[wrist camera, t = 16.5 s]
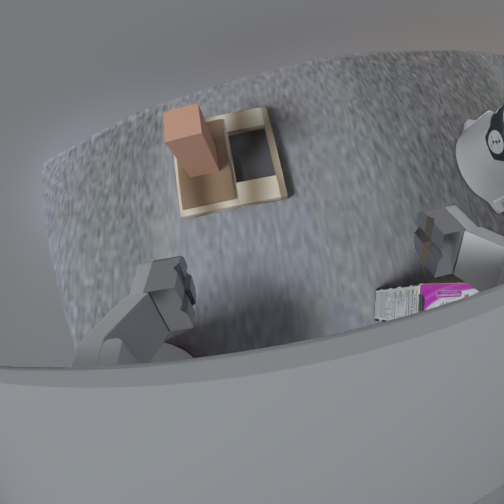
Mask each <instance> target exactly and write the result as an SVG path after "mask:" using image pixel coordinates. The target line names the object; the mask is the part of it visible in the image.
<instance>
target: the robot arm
mask: <svg viewBox="0 0 504 504" xmlns="http://www.w3.org/2000/svg"><path fill="white" fill-rule="evenodd" d="M456 159H457V163H458V166H459V169H460V172H461V174H462V176H463V178H464V179H465V181H466V183H467V184H468V185H469V187H470V188H471V189H472V190H473V191H474V192H475V193H476V194H477V195H478V196H480V197H481V198H483V199H484V200H486V201H487V202H488V203H489V204H490V205H491V207H492V208H493V209H494V210H495V211H496V212H497V213H499V214H500V213H502V212H504V105H502V106H500V107H499V108H498V109H497V110H496V112H493V111H490V110H489V111H487V112H486V113H484V114H483V115H482V116H481V117H479V118H478V119H477V120H470V119H468V120H467V121H465V123H464V129H463V133H462V134H461V136H460V137H459V139H458V141H457V144H456ZM502 204H503V205H502ZM416 223H417V224H418V226H419V227H418V229H417V230H416V232H415V235H414V244H415V249H416V251H417V254H418V255H419V256H420V258H422V259H424V260H426V261H427V263H426V266H427V268H428V269H429V271H430V272H431V273H432V275H433V276H434V278H436V277H440V276H444V275H448V274H452V273H454V275H455V276H457V277H458V278H460V279H461V280H463V281H464V282H466V283H467V284H469V285H470V286H472V287H473V288H475V289H476V290H478V291H479V292H480V293H477V294H474V295H471V296H468V297H465V298H462V299H459V300H456V301H453V302H450V303H447V304H444V305H441V306H437V307H434V308H431V309H428V310H424V311H421V312H417V313H414V314H411V315H407V316H403V317H400V318H396V319H392V320H389V321H385V322H381V323H377V324H373V325H370V326H366V327H361V328H357V329H353V330H349V331H345V332H340V333H336V334H332V335H327V336H322V337H318V338H313V339H308V340H303V341H298V342H293V343H288V344H283V345H277V346H272V347H266V348H260V349H254V350H248V351H241V352H235V353H228V354H221V355H214V356H206V357H198V358H190V359H181V360H172V361H162V362H151V360H152V359H153V357H154V356H155V354H156V353H157V351H158V350H159V348H160V347H161V345H162V344H163V342H164V341H165V340H166V338H167V337H168V335H169V334H170V331H176V330H183V329H188V328H194V318H195V312H194V309H193V307H192V306H193V305H194V304H195V303H196V292H195V286H194V282H193V279H192V276H191V275H189V274H188V273H186V271H187V264H186V262H185V259H184V257H182V256H177V257H172V258H166V259H160V260H155V261H149V262H144V263H141V264H139V266H138V268H137V272H136V275H135V278H134V281H133V284H132V288H131V291H130V294H129V296H125V297H124V298H123V299H122V300H121V301H120V302H119V303H118V304H117V305H116V306H115V307H114V308H113V309H112V310H111V311H110V312H109V313H108V314H107V315H106V316H105V317H104V318H103V319H102V320H101V321H100V322H99V323H98V324H97V325H96V326H95V327H94V328H93V329H92V330H91V331H90V332H89V333H88V334H87V335H86V336H85V337H84V338H83V339H82V340H81V341H80V344H79V347H78V350H77V353H76V356H75V359H74V363H73V366H72V367H10V366H0V504H504V236H501V235H499V234H497V233H494V232H492V231H490V230H487V229H485V228H482V227H477V226H476V225H475V224H474V223H473V222H472V221H471V220H470V219H469V218H468V217H467V216H466V215H465V214H464V213H463V212H462V211H461V210H459V209H458V208H457V207H456V206H455V205H448V206H444V207H440V208H435V209H430V210H425V211H420V212H418V215H417V219H416ZM150 362H151V363H150Z"/></svg>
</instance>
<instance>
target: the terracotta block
mask: <svg viewBox="0 0 504 504" xmlns="http://www.w3.org/2000/svg"><path fill="white" fill-rule="evenodd" d="M163 120H164V134H165V143H166V144H167V146H168V147H169V148H170V150H171V151H172V153H173V154H174V155H175V157H176V158H177V160H178V161H179V162H180V164H181V165H182V167H183V168H184V169H185V171H186V172H187V173H188V175H189V176H190V178H191V177H195V176H200V175H204V174H209V173H213V172H218V171H219V166H218V160H217V153H216V147H215V144H214V141H213V139H212V136H211V134H210V131H209V129H208V127H207V124H206V122H205V119H204V117H203V114H202V112H201V110H200V107H199V105H198V103H197V104H193V105H189V106H185V107H181V108H177V109H174V110H170V111H166V112H163Z"/></svg>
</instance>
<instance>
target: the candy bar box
mask: <svg viewBox="0 0 504 504" xmlns="http://www.w3.org/2000/svg"><path fill="white" fill-rule="evenodd" d="M477 293H480V292H479V291H478V290H476V289H475V288H473V287H472V286H470V285H469V284H467V283H466V282H450V283H420V284H414V285H406V286H399V287H393V288H384V289H376V292H375V318H374V320H376V321H381V322H385V321H389V320H392V319H396V318H400V317H403V316H407V315H411V314H414V313H417V312H421V311H424V310H428V309H431V308H434V307H437V306H441V305H444V304H447V303H450V302H453V301H456V300H459V299H462V298H465V297H468V296H471V295H474V294H477Z"/></svg>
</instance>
